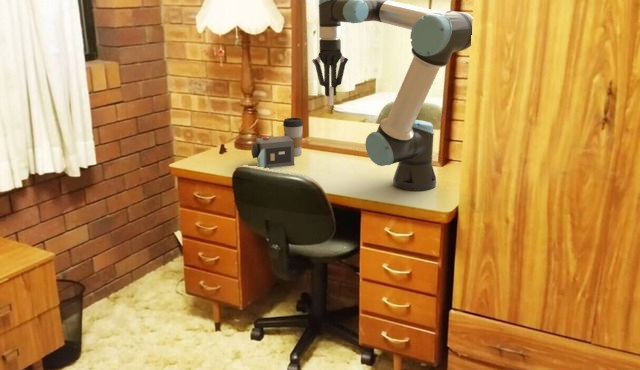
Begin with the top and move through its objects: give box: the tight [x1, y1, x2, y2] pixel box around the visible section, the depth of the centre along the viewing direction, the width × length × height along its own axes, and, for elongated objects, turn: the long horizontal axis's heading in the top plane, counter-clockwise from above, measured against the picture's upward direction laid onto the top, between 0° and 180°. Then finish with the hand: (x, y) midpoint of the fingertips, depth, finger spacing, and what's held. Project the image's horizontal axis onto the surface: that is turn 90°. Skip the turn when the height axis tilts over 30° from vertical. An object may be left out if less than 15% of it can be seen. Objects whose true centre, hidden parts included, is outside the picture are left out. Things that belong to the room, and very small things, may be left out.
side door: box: [256, 148, 265, 168], centre depth 237 cm, size 12×2×7 cm, turn 178°
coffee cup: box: [282, 117, 304, 158], centre depth 261 cm, size 8×8×15 cm
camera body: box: [250, 135, 295, 169], centre depth 248 cm, size 9×16×11 cm, turn 108°
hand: (330, 104), depth 228 cm, fingers closed
